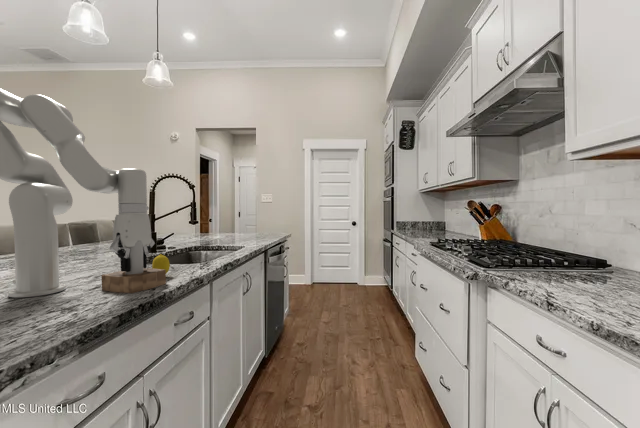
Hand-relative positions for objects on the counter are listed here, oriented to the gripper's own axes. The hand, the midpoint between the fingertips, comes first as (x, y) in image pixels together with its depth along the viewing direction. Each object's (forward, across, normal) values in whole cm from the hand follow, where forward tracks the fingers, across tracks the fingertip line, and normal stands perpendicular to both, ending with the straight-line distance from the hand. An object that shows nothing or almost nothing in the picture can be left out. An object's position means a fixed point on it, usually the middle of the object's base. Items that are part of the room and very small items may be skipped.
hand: (134, 268), depth 99 cm
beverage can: (+3, 0, 0) cm, 3 cm away
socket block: (+6, 0, 0) cm, 6 cm away
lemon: (+6, -14, -4) cm, 16 cm away
